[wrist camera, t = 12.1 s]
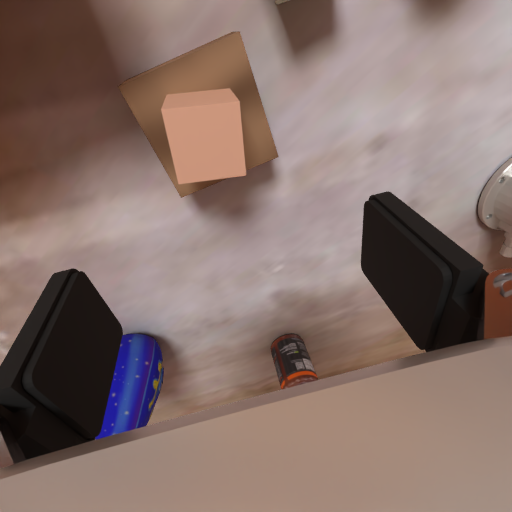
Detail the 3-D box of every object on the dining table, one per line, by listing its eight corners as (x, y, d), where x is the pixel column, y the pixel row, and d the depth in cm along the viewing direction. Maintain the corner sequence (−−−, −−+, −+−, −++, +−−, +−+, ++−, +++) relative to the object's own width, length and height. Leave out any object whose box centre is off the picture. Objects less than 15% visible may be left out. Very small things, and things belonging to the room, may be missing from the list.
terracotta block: (236, 150, 27) (246, 175, 22) (180, 157, 27) (178, 184, 22) (229, 88, 24) (239, 101, 19) (166, 94, 24) (160, 109, 19)
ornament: (162, 364, 50) (155, 466, 39) (102, 365, 48) (74, 474, 36) (168, 319, 45) (161, 422, 33) (100, 316, 42) (65, 428, 30)
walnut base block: (267, 141, 32) (278, 156, 28) (182, 177, 33) (181, 197, 29) (231, 32, 26) (239, 31, 22) (128, 79, 27) (117, 86, 23)
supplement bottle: (278, 358, 55) (295, 421, 46) (264, 342, 52) (280, 406, 43) (307, 344, 55) (331, 406, 46) (295, 327, 51) (318, 390, 42)
